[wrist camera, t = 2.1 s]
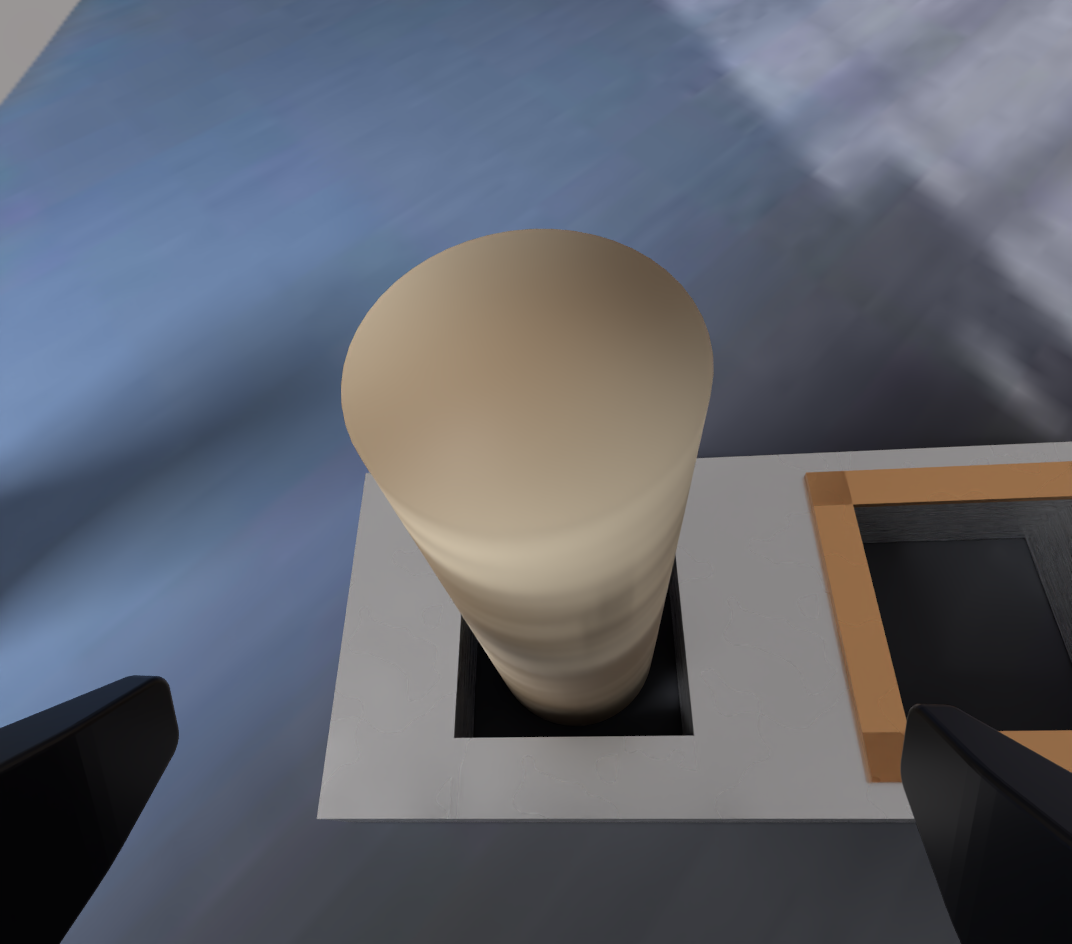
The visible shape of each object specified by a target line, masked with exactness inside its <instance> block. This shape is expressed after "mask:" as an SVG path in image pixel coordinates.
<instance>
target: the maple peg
mask: <svg viewBox="0 0 1072 944" xmlns="http://www.w3.org/2000/svg"><path fill="white" fill-rule="evenodd" d="M712 381H713V352H712V347H711V342H710V337H709V333H708V331H707V328H706V325H705V323H704V320H703V317H702V315H701V313H700V312H699V310H698V308H697V306H696V305H695V303H694V301H693V299H692V298H691V297H690V296H689V294H688V293H687V292H686V290H685V289H684V288H683V287H682V285H681V284H680V283H679V282H678V281H677V280H676V279H675V278H674V277H673V276H672V275H671V274H670V273H668V272H667V271H666V270H665V269H664V268H662V267H661V266H660V265H658V264H657V263H656V262H654V261H653V260H651V259H650V258H648V257H646V256H645V255H643V254H641V253H639V252H638V251H636V250H634V249H632V248H630V247H627V246H625V245H623V244H620V243H618V242H615V241H613V240H609V239H606V238H603V237H599V236H596V235H592V234H587V233H582V232H576V231H569V230H558V229H526V230H516V231H508V232H502V233H497V234H492V235H487V236H484V237H480V238H477V239H473V240H470V241H467V242H464V243H461V244H459V245H456V246H454V247H451V248H449V249H447V250H445V251H443V252H441V253H439V254H437V255H435V256H433V257H431V258H429V259H427V260H426V261H424V262H422V263H421V264H419V265H418V266H416V267H415V268H413V269H411V270H410V271H409V272H408V273H406V274H405V275H404V276H402V277H401V278H400V279H399V280H397V281H396V282H395V283H394V284H393V285H392V286H391V287H390V288H389V289H388V290H387V291H386V292H385V293H384V294H383V295H382V296H381V297H380V298H379V299H378V300H377V302H376V303H375V304H374V305H373V306H372V308H371V309H370V310H369V311H368V313H367V314H366V316H365V318H364V319H363V321H362V322H361V324H360V326H359V327H358V329H357V331H356V333H355V335H354V337H353V340H352V342H351V344H350V346H349V349H348V353H347V356H346V360H345V363H344V367H343V375H342V382H341V404H342V409H343V415H344V420H345V424H346V427H347V430H348V433H349V435H350V438H351V441H352V443H353V445H354V447H355V448H356V450H357V452H358V454H359V456H360V457H361V459H362V461H363V462H364V464H365V465H366V467H367V469H368V470H369V472H370V473H371V475H372V476H373V478H374V479H375V481H376V483H377V484H378V486H379V487H380V489H381V490H382V492H383V493H384V495H385V497H386V498H387V500H388V501H389V503H390V504H391V506H392V507H393V509H394V511H395V512H396V514H397V515H398V517H399V518H400V520H401V521H402V523H403V525H404V526H405V528H406V529H407V531H408V532H409V534H410V535H411V537H412V539H413V540H414V542H415V543H416V545H417V546H418V548H419V549H420V551H421V552H422V554H423V556H424V557H425V559H426V560H427V562H428V563H429V565H430V566H431V568H432V570H433V571H434V573H435V574H436V576H437V577H438V579H439V580H440V582H441V584H442V585H443V587H444V588H445V590H446V591H447V593H448V594H449V596H450V598H451V599H452V601H453V602H454V604H455V605H456V607H457V608H458V610H459V612H460V613H461V615H462V616H463V618H464V619H465V621H466V622H467V624H468V626H469V627H470V629H471V630H472V632H473V633H474V635H475V636H476V638H477V640H478V641H479V643H480V644H481V646H482V647H483V649H484V650H485V652H486V654H487V655H488V657H489V658H490V660H491V661H492V663H493V664H494V666H495V668H496V669H497V671H498V672H499V674H500V675H501V677H502V678H503V680H504V682H505V683H506V685H507V686H508V688H509V689H510V691H511V692H512V694H513V695H514V696H515V698H516V699H517V700H518V701H519V702H520V703H521V704H522V705H523V706H524V707H525V708H526V709H528V710H529V711H530V712H532V713H533V714H535V715H536V716H538V717H540V718H542V719H544V720H547V721H549V722H552V723H556V724H560V725H566V726H586V725H591V724H596V723H599V722H602V721H605V720H607V719H609V718H611V717H613V716H615V715H616V714H618V713H619V712H621V711H622V710H623V709H625V708H626V707H627V706H628V705H629V704H630V703H631V702H632V701H633V700H634V699H635V697H636V696H637V695H638V693H639V692H640V690H641V689H642V687H643V685H644V683H645V681H646V679H647V677H648V673H649V670H650V667H651V662H652V658H653V653H654V649H655V644H656V640H657V635H658V631H659V626H660V622H661V617H662V613H663V608H664V603H665V599H666V594H667V590H668V585H669V581H670V576H671V572H672V567H673V563H674V558H675V554H676V549H677V544H678V540H679V535H680V531H681V526H682V522H683V517H684V513H685V508H686V504H687V499H688V495H689V490H690V486H691V481H692V476H693V472H694V467H695V463H696V458H697V454H698V449H699V445H700V440H701V436H702V431H703V427H704V422H705V418H706V413H707V408H708V404H709V399H710V395H711V388H712Z"/></svg>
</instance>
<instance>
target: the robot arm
mask: <svg viewBox="0 0 1072 944" xmlns="http://www.w3.org/2000/svg"><path fill="white" fill-rule="evenodd" d="M178 739H179V730H178V724H177V720H176V715H175V710H174V705H173V701H172V696H171V691H170V687H169V684H168V683H167V681H166V680H165V679H164V678H162V677H160V676H140V675H133V676H128V677H125V678H123V679H120V680H118V681H115V682H113V683H110V684H108V685H105V686H103V687H101V688H98V689H96V690H93V691H91V692H88V693H86V694H83V695H81V696H78V697H76V698H73V699H71V700H69V701H66V702H64V703H61V704H59V705H56V706H54V707H51V708H49V709H46V710H44V711H41V712H39V713H36V714H34V715H32V716H29V717H27V718H24V719H22V720H19V721H17V722H14V723H12V724H9V725H7V726H4V727H2V728H0V944H60V943H61V941H62V940H63V938H64V937H65V935H66V934H67V932H68V931H69V929H70V928H71V926H72V925H73V923H74V922H75V920H76V919H77V917H78V916H79V914H80V913H81V911H82V910H83V908H84V907H85V905H86V904H87V902H88V901H89V899H90V898H91V896H92V895H93V893H94V892H95V890H96V889H97V887H98V886H99V884H100V883H101V881H102V880H103V878H104V876H105V875H106V873H107V872H108V870H109V869H110V867H111V865H112V864H113V862H114V860H115V858H116V857H117V855H118V853H119V852H120V850H121V848H122V847H123V845H124V843H125V841H126V839H127V838H128V836H129V834H130V832H131V830H132V828H133V827H134V825H135V823H136V821H137V819H138V818H139V816H140V814H141V812H142V810H143V809H144V807H145V805H146V803H147V801H148V800H149V798H150V796H151V794H152V792H153V791H154V789H155V787H156V785H157V783H158V782H159V780H160V778H161V776H162V774H163V773H164V771H165V769H166V767H167V765H168V763H169V762H170V760H171V758H172V756H173V754H174V752H175V750H176V747H177V744H178ZM900 773H901V780H902V784H903V788H904V791H905V794H906V796H907V799H908V802H909V805H910V808H911V810H912V813H913V816H914V819H915V822H916V825H917V827H918V830H919V833H920V836H921V839H922V841H923V844H924V847H925V850H926V853H927V855H928V858H929V861H930V864H931V867H932V869H933V872H934V875H935V878H936V881H937V883H938V886H939V889H940V892H941V895H942V897H943V900H944V903H945V906H946V908H947V911H948V913H949V916H950V919H951V921H952V924H953V926H954V928H955V931H956V933H957V935H958V937H959V940H960V942H961V944H1072V773H1071V772H1069V771H1068V770H1066V769H1064V768H1062V767H1061V766H1059V765H1057V764H1055V763H1054V762H1052V761H1050V760H1048V759H1046V758H1045V757H1043V756H1041V755H1039V754H1038V753H1036V752H1034V751H1032V750H1031V749H1029V748H1027V747H1025V746H1024V745H1022V744H1020V743H1018V742H1016V741H1015V740H1013V739H1011V738H1009V737H1008V736H1006V735H1004V734H1002V733H1001V732H999V731H997V730H995V729H994V728H992V727H990V726H988V725H986V724H985V723H983V722H981V721H979V720H978V719H976V718H974V717H972V716H971V715H969V714H967V713H965V712H964V711H962V710H960V709H958V708H956V707H954V706H951V705H945V704H915V705H914V706H913V707H911V708H910V710H909V713H908V716H907V722H906V729H905V736H904V743H903V750H902V756H901V764H900Z"/></svg>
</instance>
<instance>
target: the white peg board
mask: <svg viewBox="0 0 1072 944" xmlns="http://www.w3.org/2000/svg"><path fill="white" fill-rule="evenodd" d="M1005 538H1025V540H1026V542H1027V545H1028V548H1029V550H1030V553H1031V556H1032V558H1033V561H1034V564H1035V566H1036V569H1037V572H1038V574H1039V577H1040V580H1041V582H1042V585H1043V588H1044V590H1045V593H1046V596H1047V598H1048V601H1049V604H1050V606H1051V609H1052V612H1053V614H1054V617H1055V620H1056V622H1057V625H1058V628H1059V631H1060V633H1061V636H1062V639H1063V641H1064V644H1065V647H1066V649H1067V652H1068V655H1069V657H1070V660H1071V663H1072V442H1052V443H1030V444H1007V445H985V446H963V447H940V448H918V449H896V450H873V451H851V452H829V453H807V454H784V455H762V456H740V457H717V458H696V463H695V467H694V472H693V476H692V481H691V486H690V490H689V495H688V499H687V504H686V508H685V513H684V517H683V522H682V526H681V531H680V535H679V540H678V544H677V549H676V554H675V558H674V563H673V567H672V572H671V576H670V581H669V585H668V586H669V597H670V607H671V618H672V628H673V639H674V649H675V660H676V670H677V681H678V691H679V702H680V712H681V723H682V733H683V736H602V737H505V738H473V732H474V710H475V688H476V665H477V643H478V640H477V638H476V636H475V635H474V633H473V632H472V630H471V629H470V627H469V626H468V624H467V622H466V621H465V619H464V618H463V616H462V615H461V613H460V612H459V610H458V608H457V607H456V605H455V604H454V602H453V601H452V599H451V598H450V596H449V594H448V593H447V591H446V590H445V588H444V587H443V585H442V584H441V582H440V580H439V579H438V577H437V576H436V574H435V573H434V571H433V570H432V568H431V566H430V565H429V563H428V562H427V560H426V559H425V557H424V556H423V554H422V552H421V551H420V549H419V548H418V546H417V545H416V543H415V542H414V540H413V539H412V537H411V535H410V534H409V532H408V531H407V529H406V528H405V526H404V525H403V523H402V521H401V520H400V518H399V517H398V515H397V514H396V512H395V511H394V509H393V507H392V506H391V504H390V503H389V501H388V500H387V498H386V497H385V495H384V493H383V492H382V490H381V489H380V487H379V486H378V484H377V483H376V481H375V479H374V478H373V476H372V475H371V473H366V476H365V483H364V490H363V497H362V504H361V511H360V518H359V525H358V532H357V539H356V546H355V553H354V560H353V567H352V574H351V582H350V589H349V596H348V603H347V610H346V617H345V624H344V631H343V638H342V645H341V652H340V659H339V666H338V673H337V680H336V687H335V694H334V701H333V709H332V716H331V723H330V730H329V737H328V744H327V751H326V758H325V765H324V772H323V779H322V786H321V793H320V800H319V807H318V814H317V819H325V820H336V821H346V822H915V819H914V816H913V813H912V810H911V808H910V805H909V802H908V799H907V796H906V794H905V791H904V788H903V784H902V780H901V773H900V764H901V756H902V750H903V743H904V736H905V729H906V722H907V721H906V717H905V713H904V709H903V705H902V701H901V697H900V693H899V688H898V684H897V680H896V676H895V672H894V668H893V664H892V660H891V656H890V652H889V648H888V644H887V640H886V636H885V632H884V628H883V624H882V620H881V616H880V612H879V608H878V604H877V600H876V596H875V592H874V588H873V583H872V579H871V575H870V571H869V567H868V563H867V559H866V555H865V551H864V547H863V543H885V542H915V541H945V540H975V539H1005ZM999 732H1001V733H1002V734H1004V735H1006V736H1008V737H1009V738H1011V739H1013V740H1015V741H1016V742H1018V743H1020V744H1022V745H1024V746H1025V747H1027V748H1029V749H1031V750H1032V751H1034V752H1036V753H1038V754H1039V755H1041V756H1043V757H1045V758H1046V759H1048V760H1050V761H1052V762H1054V763H1055V764H1057V765H1059V766H1061V767H1062V768H1064V769H1066V770H1068V771H1069V772H1071V773H1072V730H1057V731H999Z"/></svg>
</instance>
